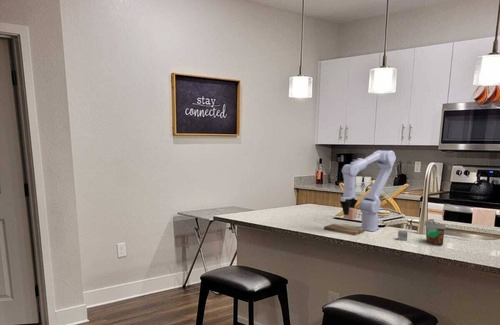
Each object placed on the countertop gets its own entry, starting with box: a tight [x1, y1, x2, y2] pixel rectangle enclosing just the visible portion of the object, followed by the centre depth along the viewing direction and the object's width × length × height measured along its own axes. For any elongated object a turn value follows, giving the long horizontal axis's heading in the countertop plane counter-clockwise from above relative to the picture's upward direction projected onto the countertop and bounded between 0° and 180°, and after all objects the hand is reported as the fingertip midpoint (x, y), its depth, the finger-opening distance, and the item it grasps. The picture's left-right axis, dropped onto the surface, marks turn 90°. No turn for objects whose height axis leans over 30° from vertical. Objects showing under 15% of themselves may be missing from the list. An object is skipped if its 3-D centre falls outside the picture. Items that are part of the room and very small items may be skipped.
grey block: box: [397, 229, 408, 242], centre depth 183 cm, size 4×4×4 cm
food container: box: [424, 218, 446, 246], centre depth 178 cm, size 12×6×10 cm, turn 178°
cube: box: [342, 207, 358, 220], centre depth 196 cm, size 5×5×5 cm
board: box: [323, 223, 365, 236], centre depth 199 cm, size 10×18×2 cm, turn 49°
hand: (348, 213), depth 197 cm, fingers closed on cube, 5 cm apart
